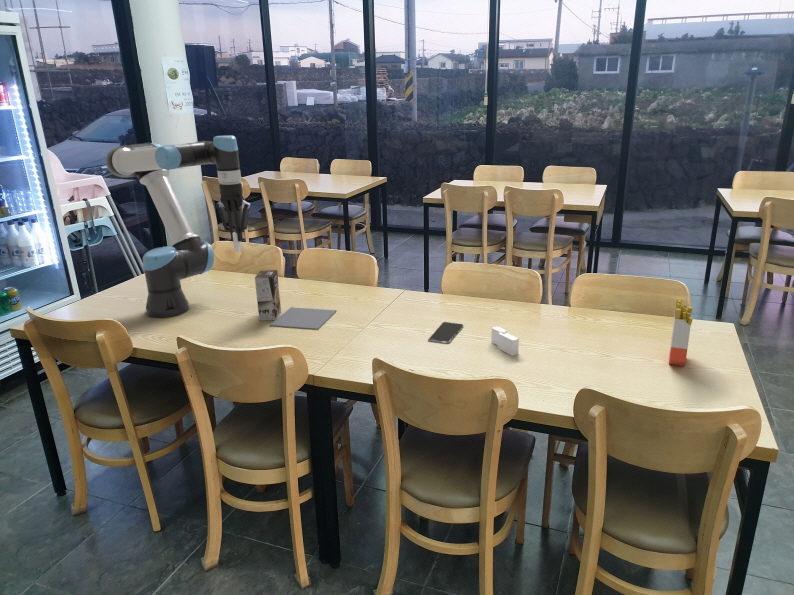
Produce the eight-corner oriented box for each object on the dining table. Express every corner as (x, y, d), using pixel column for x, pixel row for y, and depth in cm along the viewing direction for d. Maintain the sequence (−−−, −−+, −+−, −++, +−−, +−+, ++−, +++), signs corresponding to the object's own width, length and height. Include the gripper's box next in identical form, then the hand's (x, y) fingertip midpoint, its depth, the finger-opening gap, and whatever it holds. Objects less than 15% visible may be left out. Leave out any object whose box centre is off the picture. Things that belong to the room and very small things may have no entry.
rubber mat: (269, 326, 211) (269, 324, 211) (291, 308, 227) (291, 307, 227) (318, 329, 206) (318, 328, 206) (336, 311, 223) (336, 310, 223)
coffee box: (276, 320, 216) (272, 277, 211) (258, 320, 216) (253, 277, 211) (281, 311, 224) (277, 269, 219) (264, 311, 225) (260, 269, 219)
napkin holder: (524, 359, 181) (525, 341, 179) (486, 357, 183) (486, 340, 181) (522, 339, 195) (523, 322, 193) (486, 338, 197) (487, 321, 195)
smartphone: (427, 339, 195) (443, 321, 208) (427, 342, 195) (443, 324, 209) (449, 342, 192) (463, 324, 206) (449, 345, 192) (463, 326, 206)
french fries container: (686, 355, 179) (694, 297, 173) (686, 370, 170) (694, 309, 164) (669, 352, 181) (676, 295, 175) (668, 367, 172) (675, 307, 166)
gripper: (207, 184, 205) (216, 252, 213) (242, 184, 202) (250, 253, 210) (218, 181, 212) (227, 247, 220) (252, 181, 209) (260, 248, 216)
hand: (238, 250), depth 215 cm, fingers closed
